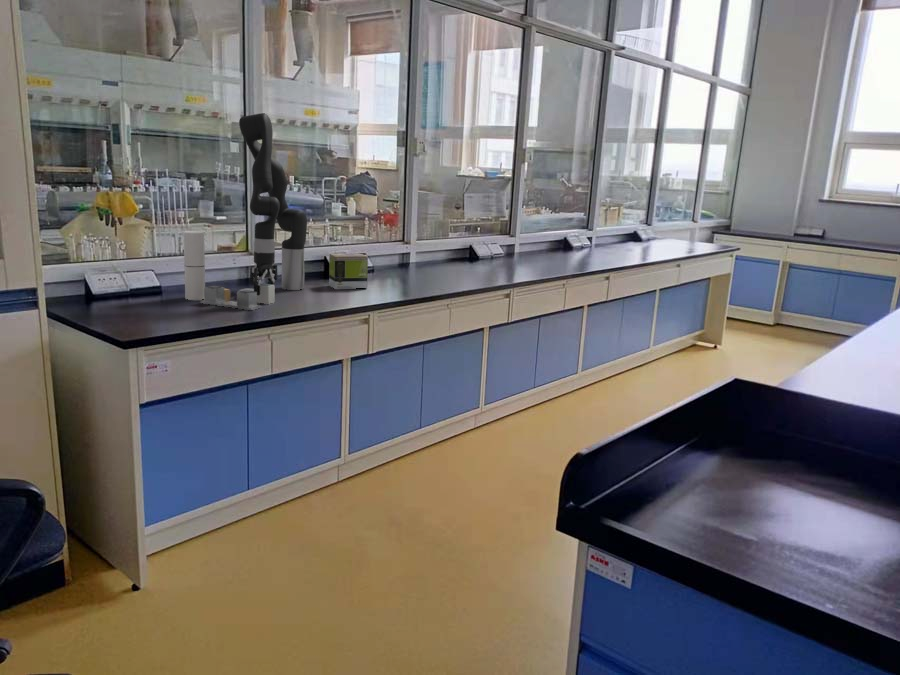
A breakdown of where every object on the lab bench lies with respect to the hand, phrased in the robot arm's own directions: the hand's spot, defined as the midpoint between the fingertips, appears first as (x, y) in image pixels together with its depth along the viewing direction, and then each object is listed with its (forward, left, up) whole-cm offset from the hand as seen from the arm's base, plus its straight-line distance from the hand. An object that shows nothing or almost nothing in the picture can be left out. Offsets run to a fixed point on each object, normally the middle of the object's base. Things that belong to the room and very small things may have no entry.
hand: (263, 293), depth 260 cm
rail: (+12, -6, -4) cm, 14 cm away
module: (0, +1, -4) cm, 4 cm away
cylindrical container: (+9, -24, -4) cm, 26 cm away
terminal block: (+4, -15, -4) cm, 16 cm away
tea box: (-50, +10, -4) cm, 52 cm away
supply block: (-4, -9, -4) cm, 11 cm away
